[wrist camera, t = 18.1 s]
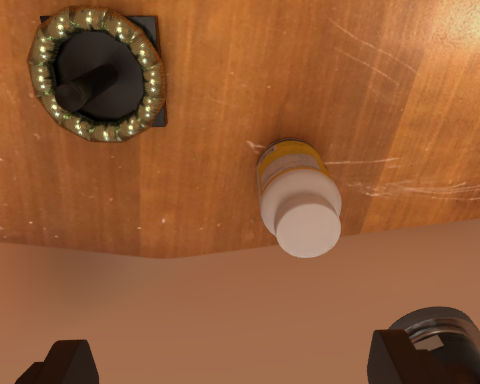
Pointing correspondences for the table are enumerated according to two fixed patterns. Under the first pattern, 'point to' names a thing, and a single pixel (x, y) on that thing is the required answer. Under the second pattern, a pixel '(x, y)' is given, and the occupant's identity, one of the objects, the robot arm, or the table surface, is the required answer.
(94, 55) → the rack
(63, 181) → the table surface
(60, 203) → the table surface
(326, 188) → the pill bottle
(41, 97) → the ring
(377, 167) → the table surface
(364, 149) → the table surface
